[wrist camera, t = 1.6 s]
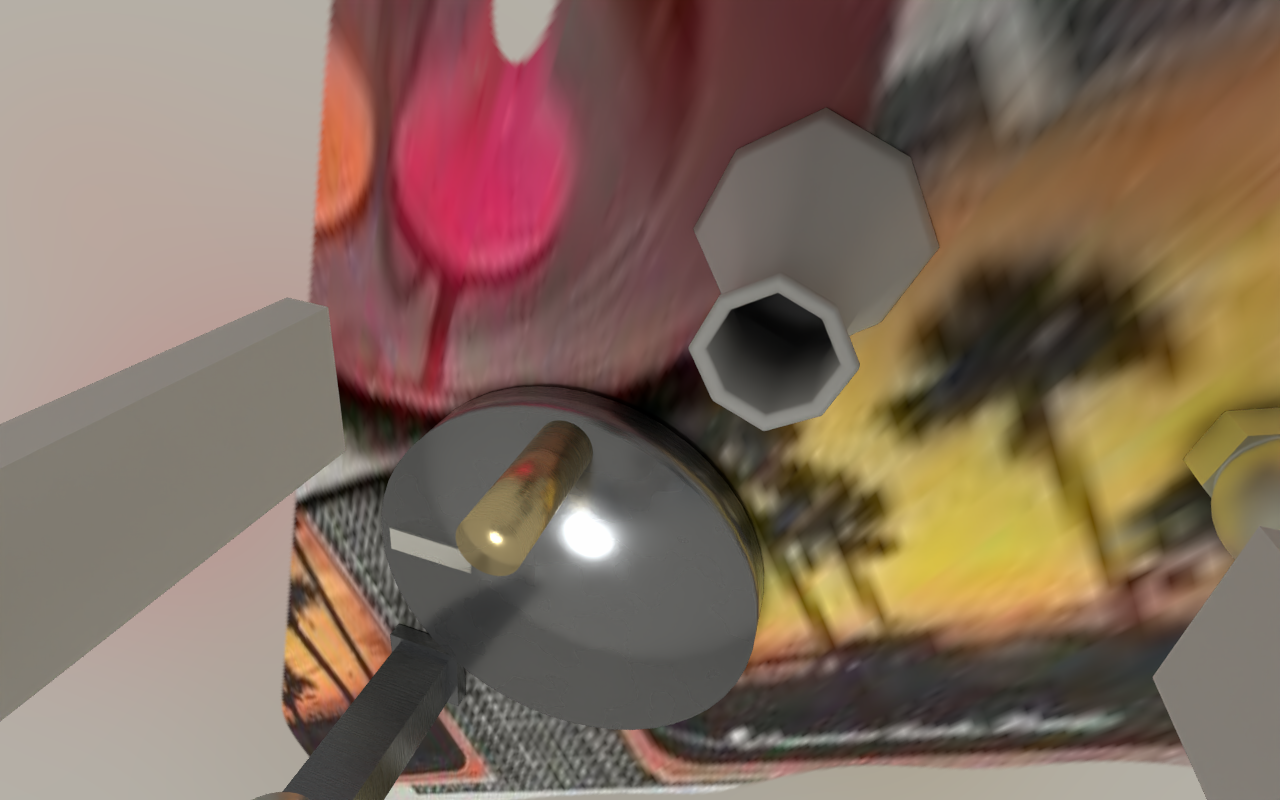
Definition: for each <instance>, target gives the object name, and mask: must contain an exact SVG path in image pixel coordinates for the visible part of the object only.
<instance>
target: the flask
mask: <svg viewBox="0 0 1280 800" xmlns="http://www.w3.org/2000/svg"><path fill="white" fill-rule="evenodd" d="M693 230H694V232H695V234H696V237H697V239H698V241H699V243H700V246H701V248H702V250H703V253H704V255H705V257H706V260H707V262H708V264H709V266H710V269H711V271H712V273H713V276H714V278H715V280H716V283H717V285H718V287H719V289H720V292H721V295H720V296H719V297H718V299H717V301H716V302H715V304H714V306H713V307H712V309H711V311H710V312H709V314H708V315H707V317H706V319H705V320H704V322H703V324H702V325H701V327H700V329H699V330H698V332H697V334H696V335H695V337H694V339H693V340H692V342H691V344H690V346H689V348H688V349H689V351H690V353H691V355H692V357H693V359H694V361H695V364H696V366H697V368H698V370H699V372H700V374H701V377H702V379H703V381H704V383H705V385H706V387H707V389H708V392H709V394H710V396H711V398H712V400H713V401H714V402H716V403H718V404H719V405H721V406H723V407H724V408H726V409H728V410H729V411H731V412H733V413H734V414H736V415H738V416H739V417H741V418H743V419H744V420H746V421H748V422H749V423H751V424H753V425H754V426H756V427H757V428H759V429H761V430H762V431H767V430H770V429H774V428H778V427H781V426H785V425H789V424H793V423H796V422H800V421H804V420H807V419H811V418H815V417H819V416H822V415H823V413H824V412H825V411H826V410H827V408H828V407H829V406H830V405H831V403H832V402H833V401H834V400H835V398H836V397H837V396H838V395H839V393H840V392H841V391H842V390H843V388H844V387H845V386H846V385H847V383H848V382H849V381H850V379H851V378H852V377H853V376H854V374H855V373H856V372H857V371H858V369H859V366H860V363H859V361H858V358H857V355H856V353H855V350H854V347H853V345H852V342H851V340H850V337H849V336H851V335H853V334H854V333H856V332H858V331H861V330H864V329H866V328H869V327H871V326H874V325H876V324H878V323H880V322H882V320H883V319H884V318H885V317H886V315H887V314H888V313H889V311H890V310H891V309H892V308H893V306H894V305H895V304H896V302H897V301H898V300H899V299H900V297H901V296H902V295H903V294H904V292H905V291H906V290H907V288H908V287H909V286H910V285H911V283H912V282H913V281H914V279H915V278H916V277H917V276H918V274H919V273H920V272H921V270H922V269H923V268H924V267H925V265H926V264H927V263H928V261H929V260H930V259H931V258H932V256H933V255H934V254H935V252H936V251H937V250H938V249H939V244H938V241H937V238H936V235H935V232H934V229H933V226H932V223H931V220H930V216H929V213H928V210H927V207H926V204H925V201H924V198H923V195H922V192H921V188H920V185H919V182H918V179H917V176H916V173H915V170H914V167H913V164H912V160H911V157H909V156H907V155H906V154H904V153H902V152H901V151H899V150H897V149H896V148H894V147H892V146H891V145H889V144H887V143H885V142H884V141H882V140H880V139H879V138H877V137H875V136H874V135H872V134H870V133H869V132H867V131H865V130H863V129H862V128H860V127H858V126H857V125H855V124H853V123H852V122H850V121H848V120H847V119H845V118H843V117H841V116H840V115H838V114H836V113H835V112H833V111H831V110H830V109H828V108H824V109H822V110H820V111H817V112H815V113H813V114H811V115H809V116H807V117H805V118H803V119H800V120H798V121H796V122H794V123H792V124H790V125H788V126H786V127H784V128H781V129H779V130H777V131H775V132H773V133H771V134H769V135H767V136H764V137H762V138H760V139H758V140H756V141H754V142H752V143H750V144H747V145H745V146H743V147H741V148H739V149H737V150H736V151H735V153H734V155H733V157H732V159H731V161H730V162H729V164H728V166H727V168H726V170H725V172H724V173H723V175H722V177H721V179H720V181H719V183H718V184H717V186H716V188H715V190H714V192H713V194H712V195H711V197H710V199H709V201H708V203H707V205H706V206H705V208H704V210H703V212H702V214H701V216H700V217H699V219H698V221H697V223H696V225H695V227H694V228H693Z"/></svg>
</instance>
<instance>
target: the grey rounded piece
mask: <svg viewBox="0 0 1280 800" xmlns="http://www.w3.org/2000/svg"><path fill="white" fill-rule="evenodd" d="M382 536H383V542H384V548H385V553H386V556H387V560H388V563H389V566H390V569H391V572H392V575H393V577H394V579H395V581H396V584H397V586H398V588H399V590H400V592H401V594H402V596H403V597H404V599H405V601H406V603H407V604H408V606H409V608H410V609H411V611H412V612H413V614H414V615H415V616H416V618H417V619H418V621H419V622H420V623H421V625H422V626H423V627H424V628H425V630H426V631H427V632H428V633H429V634H430V635H431V637H432V638H433V639H434V640H435V641H436V642H437V643H438V644H439V645H440V646H441V647H442V648H443V649H444V650H445V651H446V652H447V653H448V654H449V655H450V656H451V657H452V658H453V659H454V660H455V661H456V662H458V663H459V664H460V665H461V666H462V667H464V668H465V669H466V670H467V671H468V672H470V673H471V674H472V675H474V676H475V677H477V678H478V679H480V680H481V681H482V682H484V683H485V684H487V685H488V686H490V687H491V688H493V689H495V690H496V691H498V692H500V693H501V694H503V695H505V696H506V697H508V698H510V699H512V700H514V701H516V702H518V703H520V704H522V705H524V706H526V707H529V708H531V709H534V710H536V711H539V712H541V713H544V714H546V715H549V716H552V717H555V718H558V719H562V720H565V721H568V722H572V723H577V724H581V725H586V726H590V727H598V728H606V729H624V730H636V729H648V728H656V727H661V726H666V725H671V724H675V723H677V722H680V721H683V720H686V719H689V718H692V717H694V716H695V715H697V714H699V713H701V712H703V711H705V710H707V709H709V708H710V707H711V706H713V705H714V704H715V703H717V702H718V701H719V700H720V699H722V698H723V697H724V696H725V695H726V694H727V693H728V692H729V691H730V690H731V688H732V687H733V686H734V685H735V684H736V683H737V681H738V679H739V678H740V676H741V675H742V673H743V671H744V670H745V668H746V666H747V663H748V660H749V658H750V655H751V652H752V650H753V645H754V640H755V635H756V630H757V625H758V620H759V615H760V610H761V605H762V599H763V593H764V570H763V564H762V558H761V552H760V548H759V545H758V542H757V539H756V536H755V533H754V530H753V527H752V525H751V523H750V521H749V519H748V517H747V515H746V513H745V511H744V509H743V507H742V505H741V503H740V502H739V500H738V499H737V497H736V496H735V494H734V493H733V491H732V490H731V488H730V487H729V485H728V484H727V482H726V481H725V480H724V479H723V478H722V477H721V475H720V474H719V473H718V472H717V471H716V470H715V468H714V467H713V466H712V465H711V464H710V463H709V462H708V461H707V460H706V459H705V458H704V457H703V456H702V455H701V454H700V453H698V452H697V451H696V450H695V449H694V448H693V447H692V446H691V445H690V444H689V443H687V442H686V441H685V440H683V439H682V438H681V437H679V436H678V435H676V434H675V433H674V432H672V431H671V430H670V429H668V428H667V427H665V426H664V425H662V424H660V423H659V422H657V421H655V420H653V419H652V418H650V417H648V416H646V415H645V414H643V413H641V412H639V411H637V410H634V409H632V408H630V407H628V406H625V405H623V404H621V403H618V402H616V401H614V400H610V399H607V398H604V397H601V396H597V395H594V394H591V393H587V392H582V391H576V390H571V389H566V388H557V387H540V386H533V387H520V388H510V389H506V390H501V391H496V392H492V393H489V394H486V395H483V396H481V397H478V398H476V399H473V400H470V401H469V402H467V403H465V404H464V405H462V406H460V407H459V408H457V409H455V410H453V411H452V412H451V413H450V414H449V415H447V416H446V417H445V418H444V419H443V420H442V421H440V422H439V423H438V424H437V425H436V426H435V427H434V428H433V429H431V430H430V431H429V432H428V433H427V434H426V435H425V436H423V437H422V438H421V439H420V440H419V441H418V442H417V443H415V444H414V445H413V446H412V447H411V448H410V449H409V450H408V451H407V453H406V454H405V455H404V456H403V458H402V459H401V460H400V461H399V463H398V464H397V466H396V468H395V470H394V472H393V474H392V475H391V477H390V479H389V482H388V485H387V489H386V492H385V495H384V500H383V508H382Z"/></svg>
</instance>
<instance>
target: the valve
mask: <svg viewBox="0 0 1280 800" xmlns="http://www.w3.org/2000/svg"><path fill="white" fill-rule="evenodd" d="M1183 460H1184V462H1185V463H1186V465H1187V466H1188V467H1189V469H1190V470H1191V471H1192V473H1193V474H1194V476H1195V477H1196V478H1197V480H1198V481H1199V483H1200V484H1201V485H1202V487H1203V488H1204V489H1205V491H1206V492H1207V493H1208V495H1209V496H1210V497H1211V498H1212V500H1211V511H1212V520H1213V523H1214V526H1215V529H1216V532H1217V535H1218V537H1219V538H1220V540H1221V542H1222V543H1223V545H1224V547H1225V548H1226V550H1227V551H1228V552H1229V553H1230V554H1231V556H1232V557H1233V558H1234V559H1235V560H1236V558H1237V557H1238V555H1239V554H1240V553H1241V551H1242V550H1243V548H1244V547H1245V546H1246V544H1247V543H1248V541H1249V540H1250V538H1251V537H1252V536H1253V534H1254V533H1255V531H1256V530H1257V529H1258V527H1259V526H1262V527H1267V528H1271V529H1275V530H1280V407H1278V408H1262V409H1247V410H1231V411H1225V412H1224V413H1223V414H1222V415H1221V416H1220V417H1219V418H1218V419H1217V420H1216V421H1215V423H1214V424H1213V425H1212V426H1211V427H1210V428H1209V430H1208V431H1207V432H1206V433H1205V434H1204V435H1203V436H1202V438H1201V439H1200V440H1199V441H1198V442H1197V443H1196V444H1195V446H1194V447H1193V448H1192V449H1191V450H1190V451H1189V452H1188V454H1187V455H1186V456H1185V458H1184V459H1183Z"/></svg>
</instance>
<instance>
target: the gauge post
mask: <svg viewBox="0 0 1280 800" xmlns="http://www.w3.org/2000/svg"><path fill="white" fill-rule="evenodd" d="M390 637H391V646H392V653H391V655H390V656H389V657H388V658H387V660H386V661H385V662H384V664H383V665H382V666H381V667H380V669H379V670H378V671H377V672H376V674H375V675H374V676H373V677H372V679H371V680H370V681H369V683H368V684H367V685H366V686H365V688H364V689H363V690H362V691H361V693H360V694H359V695H358V697H357V698H356V699H355V700H354V702H353V703H352V704H351V705H350V707H349V708H348V709H347V710H346V712H345V713H344V714H343V716H342V717H341V718H340V719H339V721H338V722H337V723H336V724H335V726H334V727H333V728H332V730H331V731H330V732H329V733H328V735H327V736H326V737H325V738H324V740H323V741H322V742H321V743H320V745H319V746H318V747H317V749H316V750H315V751H314V752H313V754H312V755H311V756H310V757H309V759H308V760H307V761H306V763H305V764H304V765H303V766H302V768H301V769H300V770H299V771H298V773H297V774H296V775H295V777H294V778H293V779H292V780H291V782H290V783H289V784H288V785H287V787H286V788H285V789H284V791H283V792H276V793H271V794H266V795H263V796H260V797H257V798H255V799H253V800H384V799H385V797H386V796H387V794H388V793H389V791H390V789H391V788H392V786H393V785H394V783H395V782H396V780H397V779H398V777H399V776H400V774H401V772H402V771H403V769H404V768H405V766H406V765H407V763H408V762H409V760H410V759H411V757H412V755H413V754H414V752H415V751H416V749H417V748H418V746H419V745H420V743H421V742H422V740H423V738H424V737H425V735H426V734H427V732H428V731H429V729H430V728H431V726H432V725H433V723H434V721H435V720H436V718H437V717H438V715H439V714H440V712H441V711H442V709H443V708H444V706H445V704H446V703H447V702H448V703H451V704H454V705H457V706H459V704H460V703H461V701H462V699H463V698H464V696H465V695H466V693H465V668H464V667H462V666H461V665H460V664H459V663H458V662H456V661H455V660H454V659H453V658H452V657H451V656H450V655H449V654H448V653H447V652H446V651H445V650H444V649H443V648H442V647H441V646H440V645H439V644H438V643H437V642H436V641H435V640H434V639H433V638H432V637H431V635H430V634H427V633H424V632H421V631H418V630H415V629H412V628H409V627H406V626H403V625H401V624H399V625H398V626H397V627H396V628H395V629H394V631H393V632H392V633H391V634H390Z"/></svg>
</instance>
